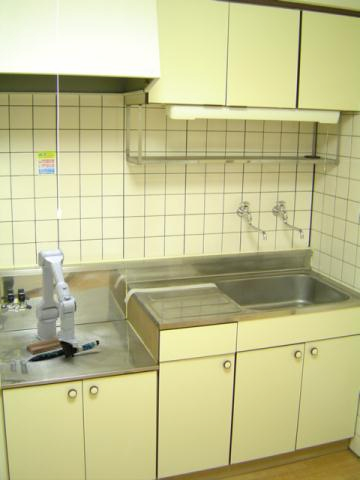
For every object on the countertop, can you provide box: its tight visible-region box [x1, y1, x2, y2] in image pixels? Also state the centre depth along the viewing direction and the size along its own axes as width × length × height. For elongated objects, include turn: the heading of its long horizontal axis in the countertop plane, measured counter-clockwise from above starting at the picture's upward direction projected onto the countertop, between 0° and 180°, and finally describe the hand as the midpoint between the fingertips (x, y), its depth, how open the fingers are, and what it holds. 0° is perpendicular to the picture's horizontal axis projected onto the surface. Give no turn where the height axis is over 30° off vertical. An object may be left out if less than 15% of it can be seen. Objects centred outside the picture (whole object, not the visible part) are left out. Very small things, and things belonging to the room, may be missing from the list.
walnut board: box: [26, 336, 62, 356], centre depth 240 cm, size 7×20×2 cm, turn 129°
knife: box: [28, 339, 100, 363], centre depth 230 cm, size 31×3×4 cm, turn 110°
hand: (67, 357), depth 228 cm, fingers closed
